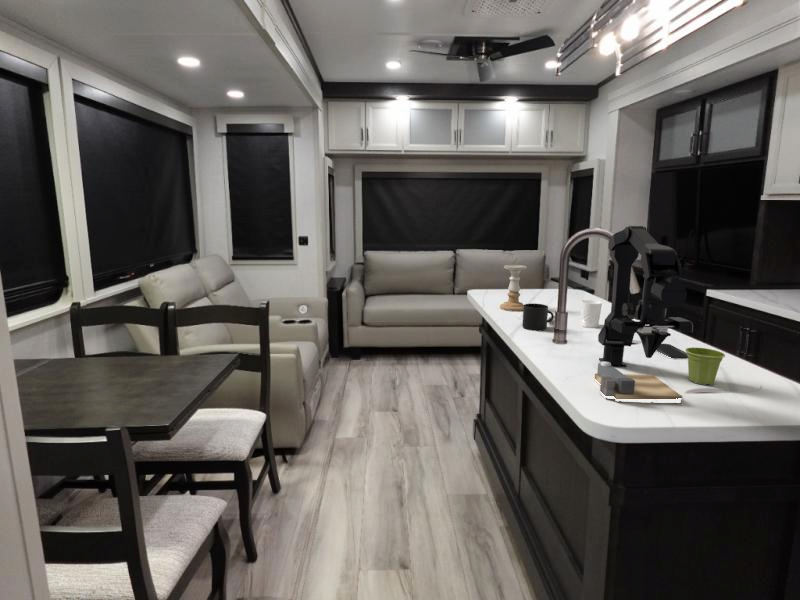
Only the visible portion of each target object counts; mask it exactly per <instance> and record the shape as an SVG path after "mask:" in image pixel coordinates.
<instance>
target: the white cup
mask: <svg viewBox="0 0 800 600" xmlns="http://www.w3.org/2000/svg"><path fill="white" fill-rule="evenodd" d="M602 304H603V302H601V301H599V300H594V299H593V300H592V299H585V300H583V299H582V300H581V301H580V326H581V327H584V328H590V329H593V328H599V322H600V318H601V311H602V307H603V306H602Z"/></svg>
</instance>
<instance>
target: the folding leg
mask: <svg viewBox="0 0 800 600" xmlns="http://www.w3.org/2000/svg"><path fill="white" fill-rule="evenodd" d="M596 374H598V375H600V376H601V375H609V376H610V377H612V378H613V379H614V380H615V387H614V388H615V389H616V390H617V391H618V392H619V393H620V394H634V387H635V380H633V379H632V378H628V377H626V376H625V375H624V374H625V373H623V372H621V371H620V370H619V369H617V368H616V367H615V366H612V365H611V363H610V362H605V361H603V362H601V361H600V362H599V363H598V364H597V372H596Z"/></svg>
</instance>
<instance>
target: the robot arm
mask: <svg viewBox="0 0 800 600" xmlns="http://www.w3.org/2000/svg"><path fill="white" fill-rule="evenodd" d="M607 247H608V250H609V257H610V259H611V261H612V263H613V264H614V267H613V268H614V269H613V279H612V281H613V282H612V291H611V292H612V295H611V306H610V307H611V310H610V312H609V313H608V314H607V316H606V317H605V319H604V324H603V325H602V327H601V330H599V333H598V336H597V341H598V342H599V344H600V345H602V346H603V353H602V354H603V356H602V357H599V358H598V360H599V362H600V363H601V362H603V361H605V362H610V363H611V365H627V366H628V364H627V363H626V362H624V353H625V346H626V347H631V346H632V344H633V341H634V340H633V339H634V338H635V337H634V336H635V334H637V335H638V337H639V339H640V342H641V345H642V348H643V352H644V356H645V358H646V359H651V358H652V357H653V355H654V354H655V353H656V352H657V351H656V350H657V348H658V347H659V346H660V344H663V342H664V341H665V340H666V339H667V338H668V337H670V336H671V333H670V332H669V331H668V330H669V329H677V330H678V331H679V332H680V333H682V334H686V333H687V334H690V333H691V334H692V333H693V331H694V325H693V322H692V321H691V320H688V319H687V318H683V317H679V316H677V317H674V316H673V317H672V316H671V317H669V316H668V317H666V315H667V309H671V307H672V308H673V307H679V306H680V305H682V304H683V303H684V302H685V300H686V299H687V298H688V292H687V289H686V287H685V286H684V285H683V284H682V283H680V282H681V281H680V280H681V279H682V278H683V274H682V273H683V269H682V265H681V262H680V260H679V255H678V254H677V252H676V250H675V249H674V248H672V247H670V246H668V245H663V244H659V243H658V241H657V240H656V239H655V238H654V237H653V236H652V235H651V233H649V232H648V229H647V227H646V226H643V225H628V226H626V227H625V228H624V229H623V230H620V231H618V232H615V233H614V234H613V235H612V236H611V237H610V238H609V240H608V244H607ZM639 255H640V265H641V267H642V271H643V275H642V277H643V278H644V279H643V287H642V297H641V298H642V299H639V300H638V303H637V305H633V303H632V302H630V292H631V291H630V290H631V281H632V279H631V278H632V266H633V264H634V263H635V262H636V260H637V259H638V258H639Z"/></svg>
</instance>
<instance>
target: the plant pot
mask: <svg viewBox="0 0 800 600" xmlns="http://www.w3.org/2000/svg"><path fill="white" fill-rule="evenodd" d="M685 352H686V353H687V356H688V359H687V365H688V367H687V368H688V369H687V371H688V381H691V382H692V381H693V382H692V383H694V382H696V383H695V384H698V383H699V385H702V384H706V385H710V384H712V385H714V384H715V381H716V378H717V375H718V371H719V367H720V365H721V362H722V361H723V359H724V358H725V357H726V354H725V353H723V352H721V351H719V350H717V349H716V350H715V349H711V348H705V347H694V346H693V347H687V348H686V349H685ZM713 383H714V384H713Z"/></svg>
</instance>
